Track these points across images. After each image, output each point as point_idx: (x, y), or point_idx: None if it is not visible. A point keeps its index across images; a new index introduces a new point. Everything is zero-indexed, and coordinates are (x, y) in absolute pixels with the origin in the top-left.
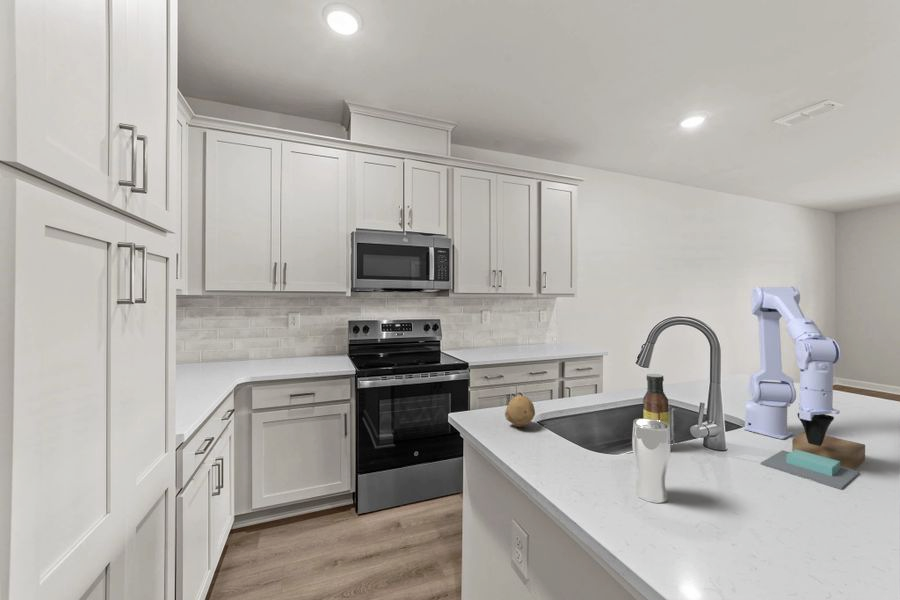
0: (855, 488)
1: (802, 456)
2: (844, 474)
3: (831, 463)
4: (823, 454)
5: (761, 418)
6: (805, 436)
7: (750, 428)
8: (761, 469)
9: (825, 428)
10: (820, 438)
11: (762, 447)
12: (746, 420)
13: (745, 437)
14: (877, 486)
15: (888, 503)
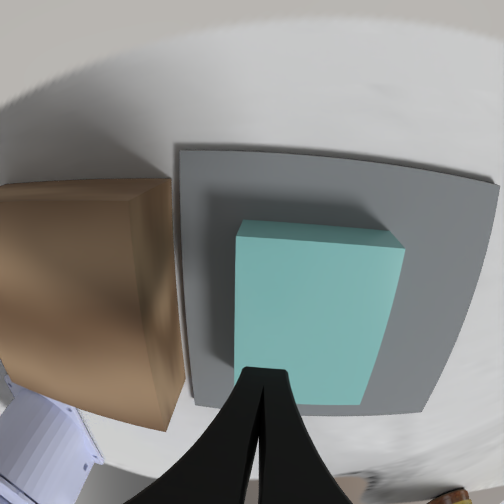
0: (439, 139)
1: (329, 368)
2: (308, 192)
3: (331, 261)
4: (163, 310)
5: (65, 474)
6: (74, 393)
7: (89, 455)
8: (465, 389)
9: (278, 487)
10: (299, 415)
11: None
12: (84, 477)
13: (165, 463)
14: (319, 65)
15: (490, 47)
